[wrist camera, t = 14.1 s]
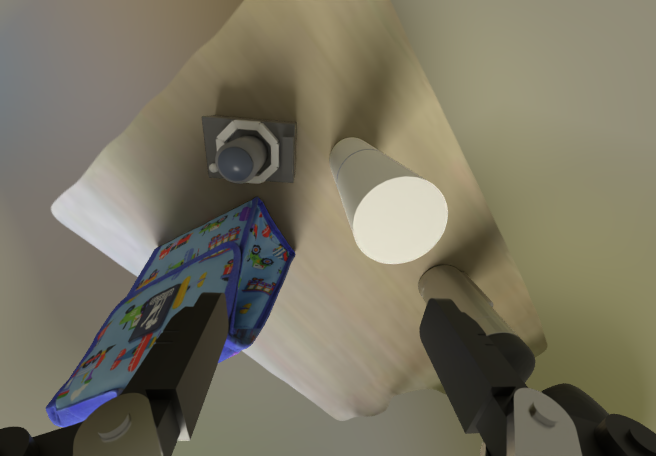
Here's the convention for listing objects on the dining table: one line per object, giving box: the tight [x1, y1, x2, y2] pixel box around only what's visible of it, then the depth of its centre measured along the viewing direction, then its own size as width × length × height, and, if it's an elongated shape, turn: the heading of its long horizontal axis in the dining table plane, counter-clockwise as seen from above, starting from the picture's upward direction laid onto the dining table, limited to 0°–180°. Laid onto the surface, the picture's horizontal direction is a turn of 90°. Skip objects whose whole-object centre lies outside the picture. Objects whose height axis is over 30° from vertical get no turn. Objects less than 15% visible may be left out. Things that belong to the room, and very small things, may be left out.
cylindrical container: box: [329, 137, 448, 264], centre depth 30 cm, size 7×7×25 cm
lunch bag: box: [46, 196, 295, 427], centre depth 34 cm, size 22×14×29 cm, turn 116°
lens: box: [215, 135, 268, 184], centre depth 31 cm, size 4×4×9 cm
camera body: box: [202, 115, 297, 184], centre depth 36 cm, size 12×8×7 cm, turn 85°
